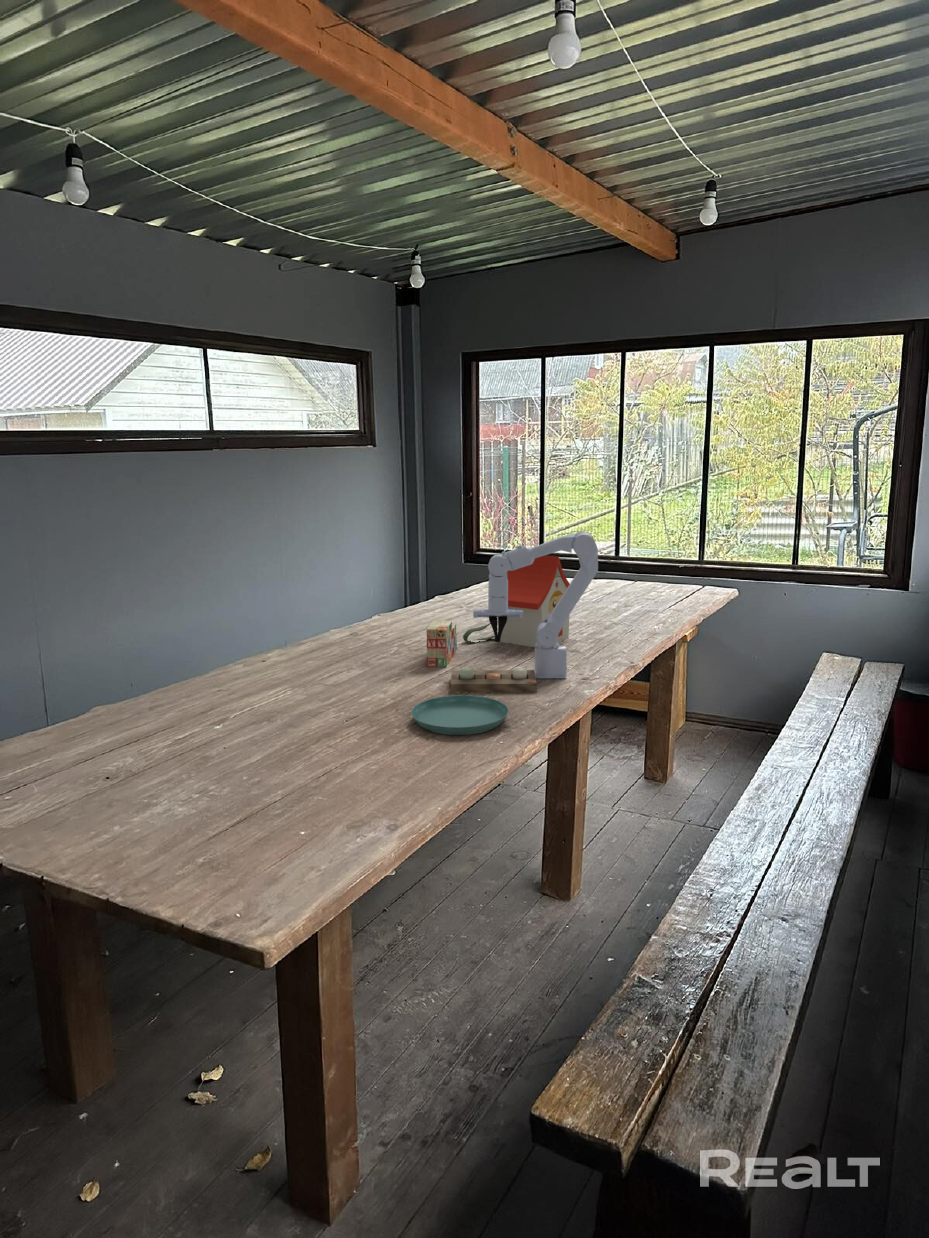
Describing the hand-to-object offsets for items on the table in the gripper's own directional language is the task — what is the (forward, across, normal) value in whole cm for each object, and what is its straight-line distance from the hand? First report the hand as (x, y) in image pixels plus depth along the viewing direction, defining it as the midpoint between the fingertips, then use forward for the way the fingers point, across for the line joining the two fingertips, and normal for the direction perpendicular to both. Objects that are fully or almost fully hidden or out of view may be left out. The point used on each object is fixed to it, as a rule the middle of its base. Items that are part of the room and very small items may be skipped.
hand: (497, 641), depth 249 cm
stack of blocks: (+11, -17, +20) cm, 28 cm away
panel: (+10, -2, -11) cm, 15 cm away
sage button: (+9, -9, -11) cm, 17 cm away
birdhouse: (+10, +11, +46) cm, 49 cm away
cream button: (+8, +6, -11) cm, 15 cm away
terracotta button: (+10, -2, -11) cm, 15 cm away
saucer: (+11, -11, -42) cm, 45 cm away
